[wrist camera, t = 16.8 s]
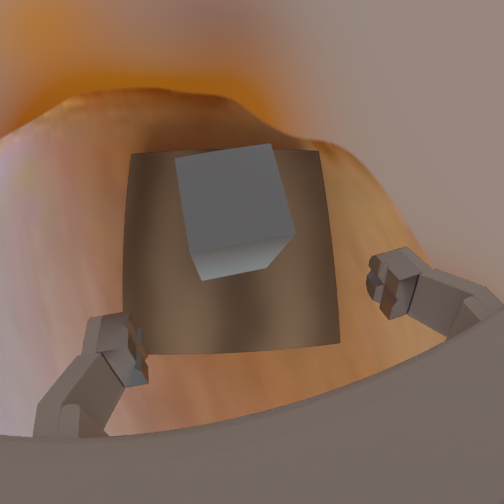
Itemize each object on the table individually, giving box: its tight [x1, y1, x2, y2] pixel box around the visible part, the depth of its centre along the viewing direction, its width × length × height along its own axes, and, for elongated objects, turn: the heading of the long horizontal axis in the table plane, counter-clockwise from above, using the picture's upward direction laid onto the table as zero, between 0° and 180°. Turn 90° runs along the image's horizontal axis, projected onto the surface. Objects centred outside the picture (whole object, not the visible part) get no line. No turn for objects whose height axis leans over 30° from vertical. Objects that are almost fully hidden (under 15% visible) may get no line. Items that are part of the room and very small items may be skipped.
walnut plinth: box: [123, 149, 340, 355], centre depth 22 cm, size 14×14×3 cm
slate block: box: [175, 143, 296, 281], centre depth 16 cm, size 4×4×8 cm
